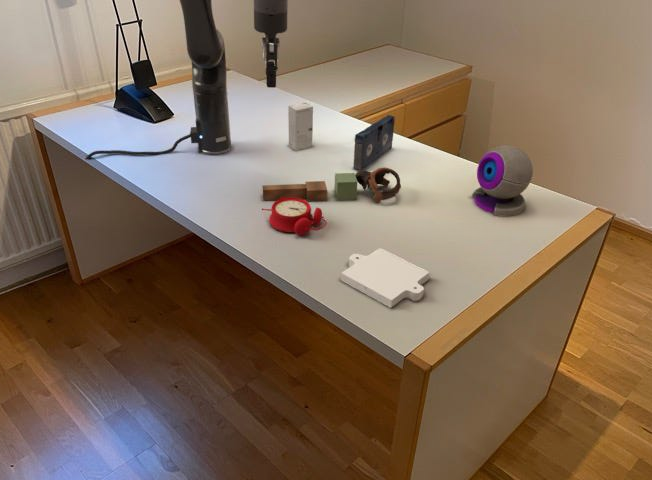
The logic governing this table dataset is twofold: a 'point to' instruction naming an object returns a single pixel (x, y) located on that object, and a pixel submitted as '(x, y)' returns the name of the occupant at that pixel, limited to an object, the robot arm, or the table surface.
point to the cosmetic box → (300, 125)
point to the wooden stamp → (296, 191)
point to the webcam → (503, 180)
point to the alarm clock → (294, 216)
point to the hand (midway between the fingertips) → (270, 81)
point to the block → (345, 186)
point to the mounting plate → (385, 277)
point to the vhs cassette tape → (373, 142)
